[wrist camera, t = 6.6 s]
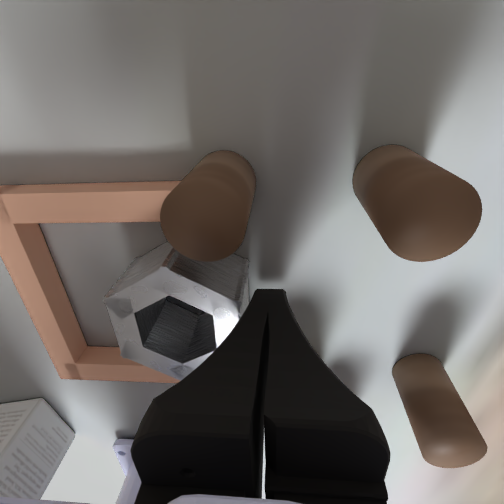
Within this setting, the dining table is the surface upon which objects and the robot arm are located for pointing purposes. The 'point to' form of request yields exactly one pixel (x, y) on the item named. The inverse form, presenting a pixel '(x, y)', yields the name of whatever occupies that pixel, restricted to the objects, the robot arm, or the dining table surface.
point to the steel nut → (176, 308)
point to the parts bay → (45, 273)
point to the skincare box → (30, 447)
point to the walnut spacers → (395, 236)
